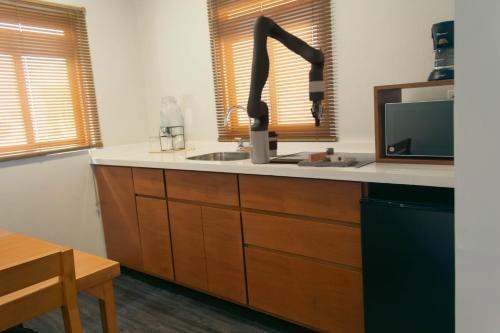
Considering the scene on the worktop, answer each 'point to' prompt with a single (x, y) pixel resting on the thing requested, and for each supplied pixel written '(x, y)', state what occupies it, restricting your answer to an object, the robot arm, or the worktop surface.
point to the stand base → (330, 162)
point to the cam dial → (322, 155)
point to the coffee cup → (272, 143)
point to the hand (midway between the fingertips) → (317, 126)
